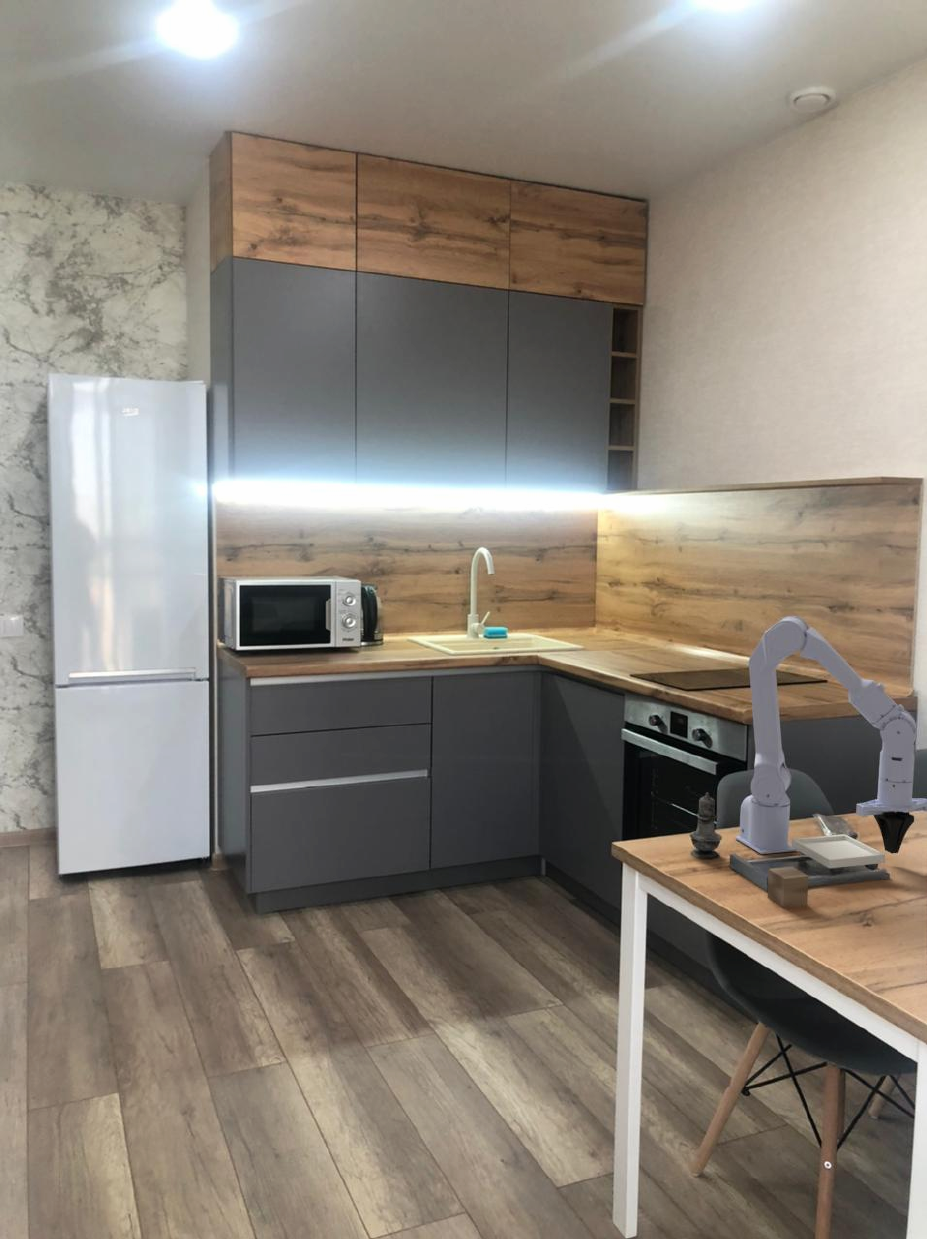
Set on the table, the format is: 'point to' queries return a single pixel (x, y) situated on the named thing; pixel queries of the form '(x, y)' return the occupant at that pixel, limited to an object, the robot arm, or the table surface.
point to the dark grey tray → (803, 870)
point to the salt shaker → (705, 831)
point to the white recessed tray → (838, 852)
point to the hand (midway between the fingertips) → (891, 851)
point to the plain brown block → (788, 887)
